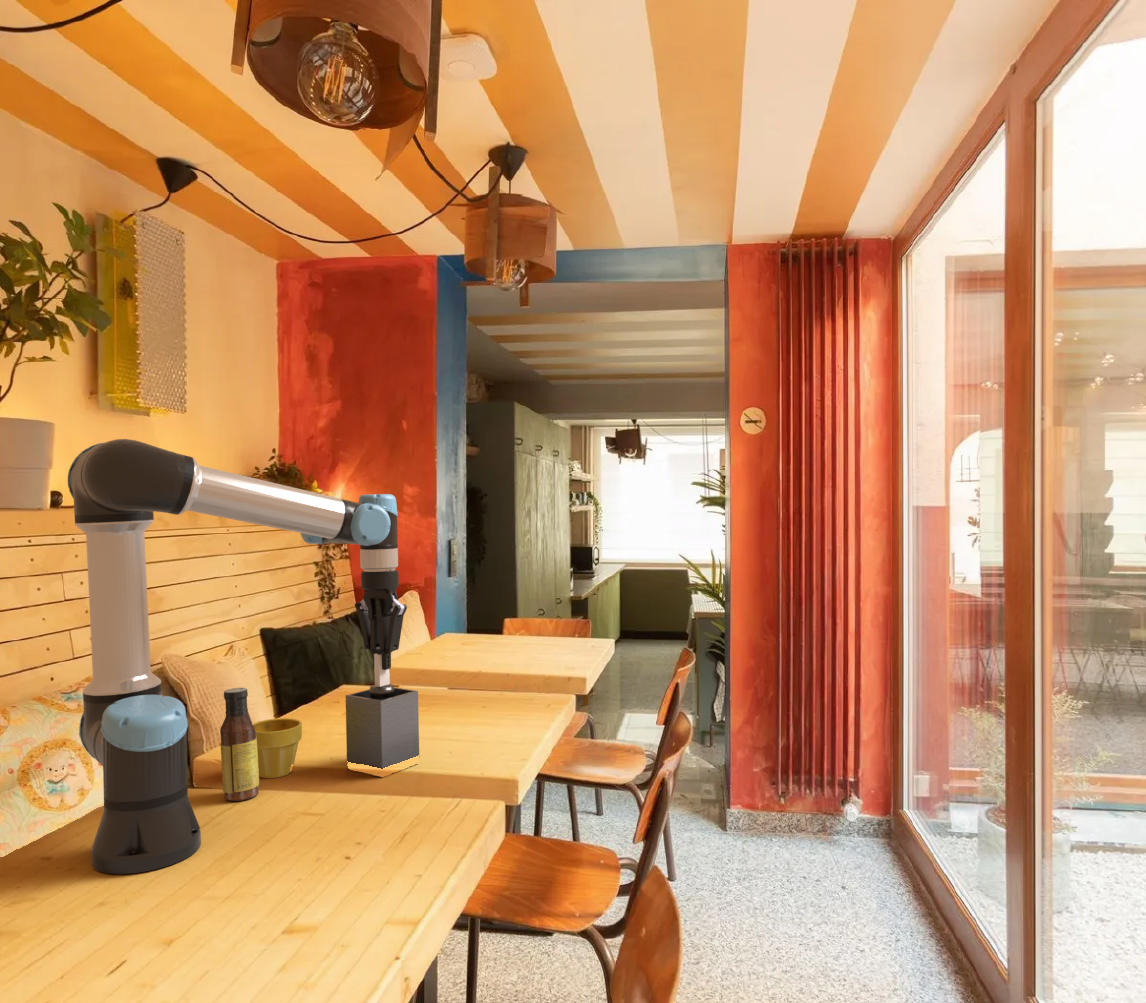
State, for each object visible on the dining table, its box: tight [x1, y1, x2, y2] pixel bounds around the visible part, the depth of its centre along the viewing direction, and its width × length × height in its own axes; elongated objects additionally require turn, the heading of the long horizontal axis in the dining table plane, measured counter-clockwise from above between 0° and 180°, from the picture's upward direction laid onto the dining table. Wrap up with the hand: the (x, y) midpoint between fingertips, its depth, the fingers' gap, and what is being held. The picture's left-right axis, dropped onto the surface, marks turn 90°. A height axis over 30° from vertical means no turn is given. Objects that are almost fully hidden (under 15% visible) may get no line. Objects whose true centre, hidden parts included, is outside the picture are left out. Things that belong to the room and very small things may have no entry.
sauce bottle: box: [219, 687, 260, 802], centre depth 154 cm, size 7×6×20 cm
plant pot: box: [252, 717, 303, 779], centre depth 167 cm, size 10×10×10 cm
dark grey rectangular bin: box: [345, 686, 420, 769], centre depth 171 cm, size 14×10×15 cm
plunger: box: [369, 683, 395, 700], centre depth 170 cm, size 8×8×13 cm
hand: (382, 684), depth 170 cm, fingers closed
